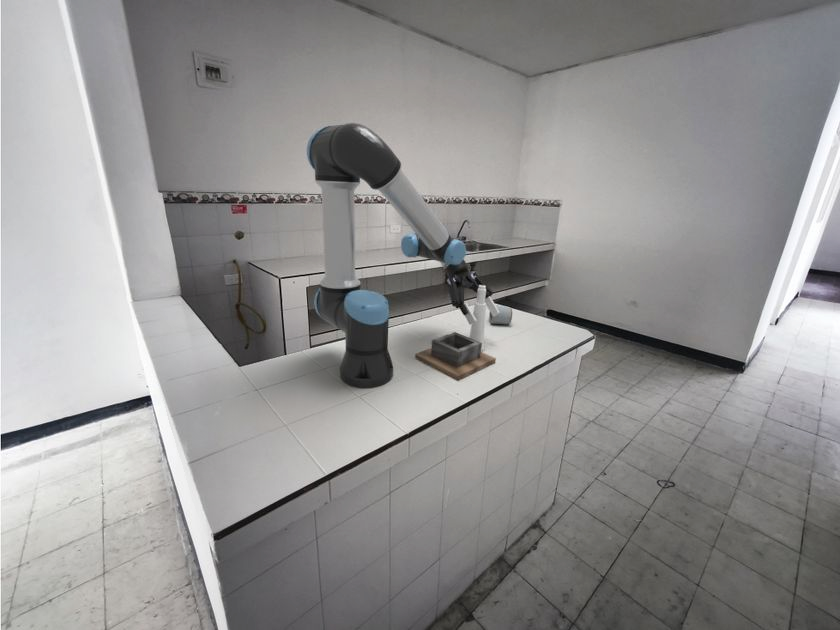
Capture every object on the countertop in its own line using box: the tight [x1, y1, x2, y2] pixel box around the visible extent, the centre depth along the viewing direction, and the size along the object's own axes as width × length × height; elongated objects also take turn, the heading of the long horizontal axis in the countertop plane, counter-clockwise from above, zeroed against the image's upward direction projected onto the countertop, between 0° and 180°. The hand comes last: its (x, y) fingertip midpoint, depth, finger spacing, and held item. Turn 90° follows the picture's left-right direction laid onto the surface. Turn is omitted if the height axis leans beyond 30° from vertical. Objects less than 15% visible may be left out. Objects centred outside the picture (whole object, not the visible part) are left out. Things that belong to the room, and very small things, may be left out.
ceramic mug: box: [488, 304, 513, 325], centre depth 151 cm, size 11×8×8 cm
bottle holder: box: [414, 332, 497, 381], centre depth 115 cm, size 18×18×6 cm
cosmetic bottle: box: [468, 285, 487, 352], centre depth 123 cm, size 6×6×22 cm
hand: (485, 318), depth 121 cm, fingers open, 12 cm apart
